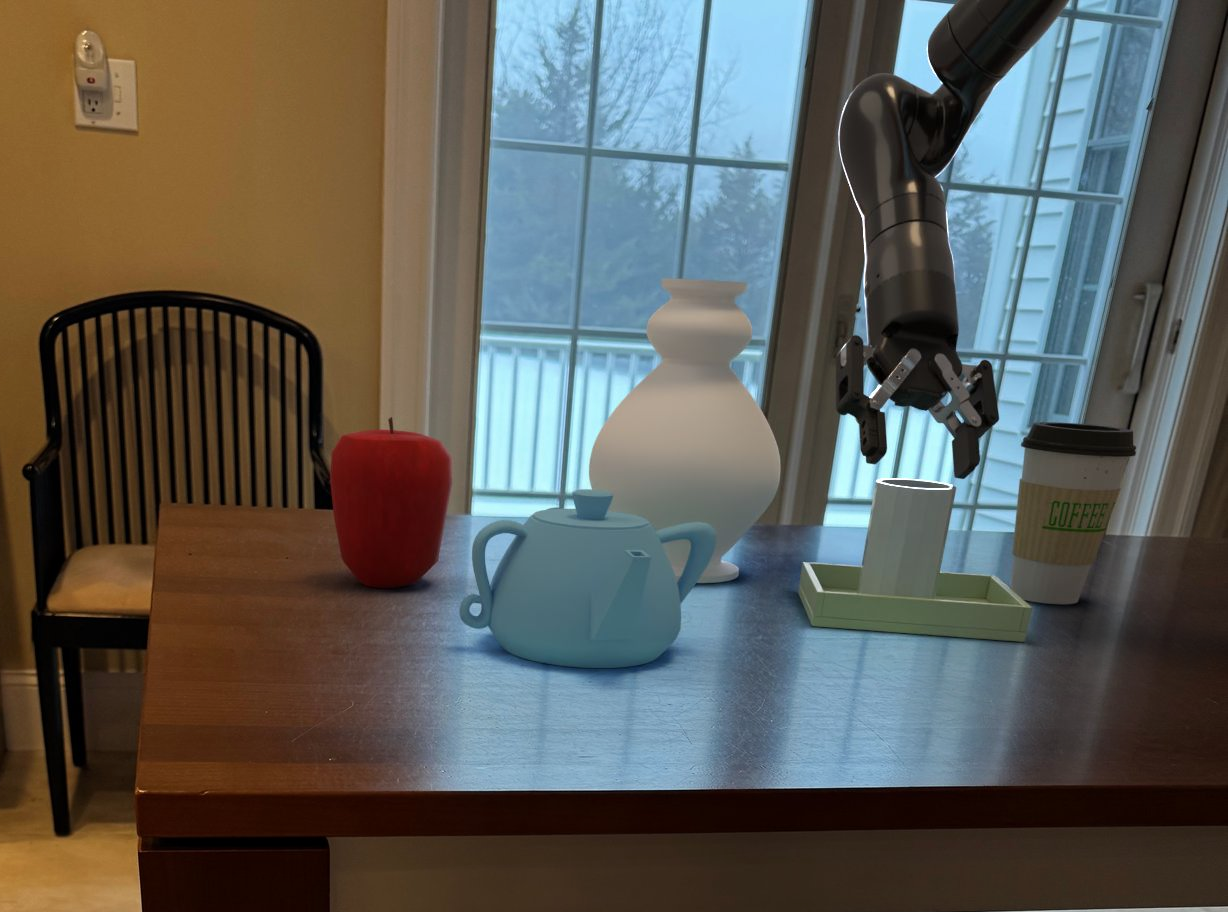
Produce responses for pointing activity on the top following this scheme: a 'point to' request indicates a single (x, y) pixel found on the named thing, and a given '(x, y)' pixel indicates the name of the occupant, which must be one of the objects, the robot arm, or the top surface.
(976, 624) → the tray
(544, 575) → the teapot
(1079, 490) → the coffee cup
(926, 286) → the robot arm
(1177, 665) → the top surface
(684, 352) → the decorative vase
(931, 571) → the container
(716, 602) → the top surface
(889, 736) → the top surface
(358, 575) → the apple
